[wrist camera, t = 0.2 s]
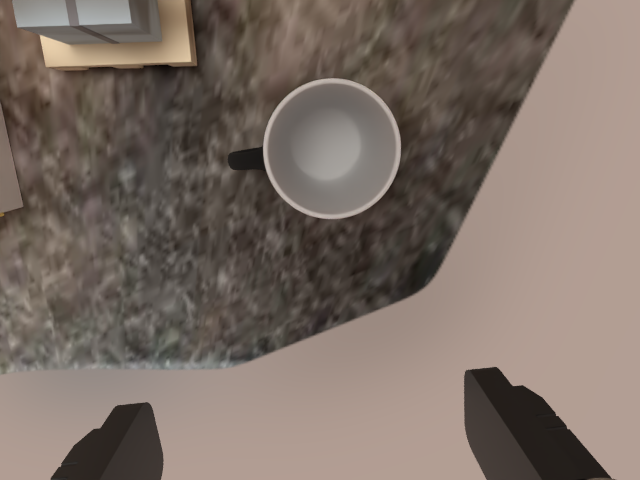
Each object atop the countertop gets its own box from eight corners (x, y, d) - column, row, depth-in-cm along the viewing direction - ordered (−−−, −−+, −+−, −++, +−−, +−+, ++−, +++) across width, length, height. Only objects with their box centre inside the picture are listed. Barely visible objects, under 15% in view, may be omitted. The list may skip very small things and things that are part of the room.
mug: (371, 83, 36) (396, 67, 26) (381, 188, 38) (407, 210, 29) (229, 102, 36) (201, 94, 26) (248, 206, 38) (228, 234, 29)
